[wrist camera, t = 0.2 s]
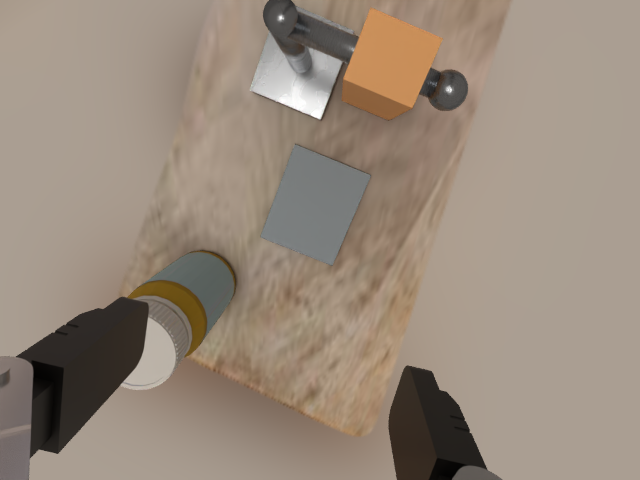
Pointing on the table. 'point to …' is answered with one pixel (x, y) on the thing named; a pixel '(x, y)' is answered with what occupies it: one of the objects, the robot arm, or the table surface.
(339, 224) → the mat
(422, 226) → the table surface
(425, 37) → the link
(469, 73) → the table surface
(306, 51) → the stand
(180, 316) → the bottle
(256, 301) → the table surface
